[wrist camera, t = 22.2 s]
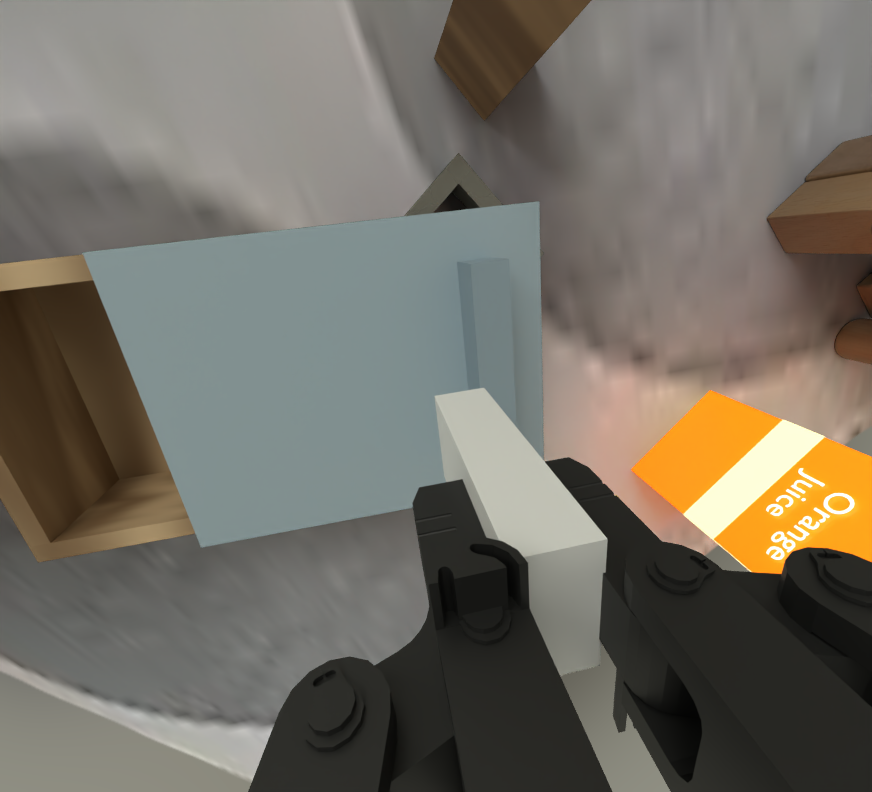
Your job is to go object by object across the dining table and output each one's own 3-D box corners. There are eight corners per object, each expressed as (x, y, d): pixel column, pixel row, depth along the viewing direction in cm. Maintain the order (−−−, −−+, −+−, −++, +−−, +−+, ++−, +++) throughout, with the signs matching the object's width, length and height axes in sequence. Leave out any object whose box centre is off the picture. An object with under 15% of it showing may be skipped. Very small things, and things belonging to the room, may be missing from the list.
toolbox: (118, 486, 27) (38, 562, 20) (17, 269, 22) (-131, 278, 15) (385, 441, 29) (389, 497, 22) (348, 231, 24) (340, 225, 17)
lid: (209, 531, 21) (178, 586, 18) (101, 252, 16) (29, 252, 13) (535, 471, 23) (564, 510, 20) (528, 204, 18) (565, 193, 15)
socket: (451, 335, 27) (459, 344, 25) (368, 257, 24) (368, 258, 22) (528, 253, 26) (544, 253, 24) (449, 162, 23) (458, 153, 21)
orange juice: (758, 440, 34) (1223, 669, 16) (681, 513, 36) (1021, 802, 17) (709, 387, 32) (1196, 586, 13) (628, 469, 33) (960, 751, 14)
